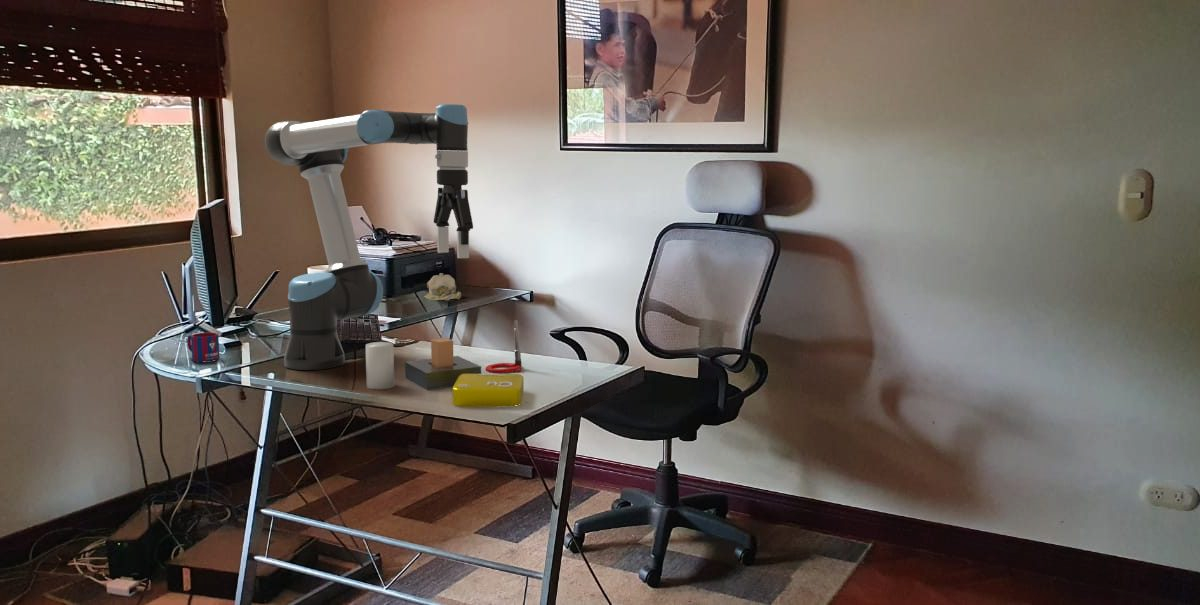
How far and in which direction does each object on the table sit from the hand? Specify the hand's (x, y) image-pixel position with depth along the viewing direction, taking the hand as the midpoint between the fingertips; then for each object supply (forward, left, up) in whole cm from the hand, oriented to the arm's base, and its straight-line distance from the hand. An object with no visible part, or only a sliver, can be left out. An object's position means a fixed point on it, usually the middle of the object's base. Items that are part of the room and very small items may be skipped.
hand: (452, 255), depth 229 cm
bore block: (+6, -6, -30) cm, 31 cm away
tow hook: (+3, +12, -30) cm, 33 cm away
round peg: (+4, -21, -30) cm, 37 cm away
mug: (-48, -52, -30) cm, 77 cm away
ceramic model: (-118, +46, -30) cm, 130 cm away
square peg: (+6, -6, -30) cm, 31 cm away
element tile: (+27, -3, -31) cm, 41 cm away
